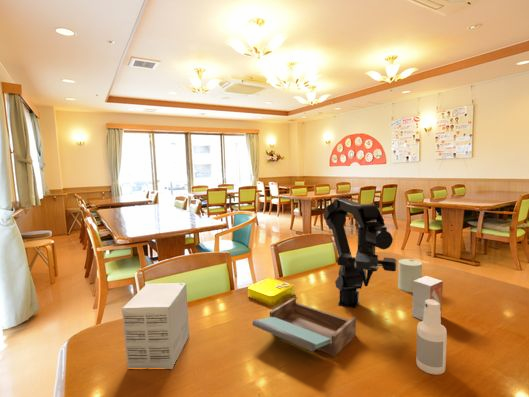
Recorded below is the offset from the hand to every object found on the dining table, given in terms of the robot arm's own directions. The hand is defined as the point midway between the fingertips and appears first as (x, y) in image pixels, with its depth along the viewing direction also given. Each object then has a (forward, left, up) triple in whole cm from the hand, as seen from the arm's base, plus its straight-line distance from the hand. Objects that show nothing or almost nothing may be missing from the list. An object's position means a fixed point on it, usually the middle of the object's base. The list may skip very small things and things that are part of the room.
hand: (366, 285), depth 107 cm
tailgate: (-17, -22, -8) cm, 29 cm away
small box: (+19, +10, -12) cm, 25 cm away
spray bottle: (+19, -19, -12) cm, 30 cm away
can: (+13, +34, -12) cm, 38 cm away
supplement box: (-53, -43, -12) cm, 69 cm away
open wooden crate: (-15, -15, -12) cm, 24 cm away
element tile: (-39, +6, -13) cm, 42 cm away
